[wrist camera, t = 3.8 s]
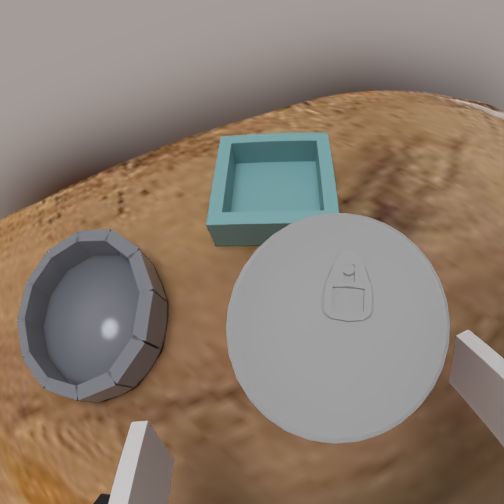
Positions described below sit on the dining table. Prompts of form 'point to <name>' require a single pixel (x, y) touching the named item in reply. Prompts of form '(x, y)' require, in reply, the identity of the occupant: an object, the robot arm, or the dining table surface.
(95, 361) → the round gray bowl
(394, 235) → the canned food
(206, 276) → the dining table surface
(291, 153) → the square tray
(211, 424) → the dining table surface
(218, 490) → the dining table surface
